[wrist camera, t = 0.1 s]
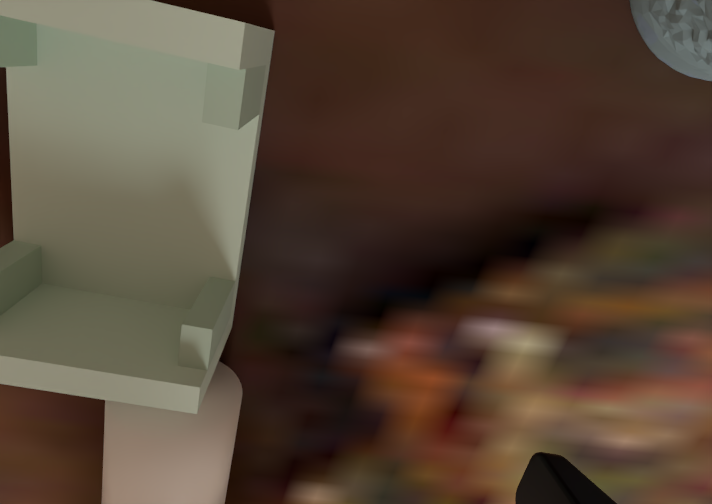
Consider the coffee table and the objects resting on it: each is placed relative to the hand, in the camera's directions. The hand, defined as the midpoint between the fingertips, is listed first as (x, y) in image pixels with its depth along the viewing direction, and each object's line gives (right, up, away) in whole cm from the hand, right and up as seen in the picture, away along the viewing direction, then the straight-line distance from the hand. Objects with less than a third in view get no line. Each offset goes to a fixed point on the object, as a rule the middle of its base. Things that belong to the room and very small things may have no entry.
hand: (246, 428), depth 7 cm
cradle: (-7, +6, +13) cm, 16 cm away
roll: (-7, -7, +16) cm, 19 cm away
